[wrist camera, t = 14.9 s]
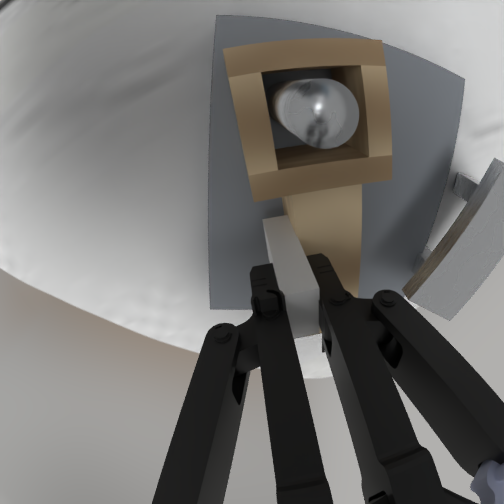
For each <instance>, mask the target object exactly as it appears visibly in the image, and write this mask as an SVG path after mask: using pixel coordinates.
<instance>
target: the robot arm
mask: <svg viewBox="0 0 504 504" xmlns="http://www.w3.org/2000/svg"><path fill="white" fill-rule="evenodd" d="M262 220H263V226H264V232H265V238H266V244H267V250H268V257H269V262H270V263H269V264H264V265H258V266H253V267H252V269H251V271H250V273H249V274H250V282H251V290H252V297H251V306H252V310H253V314H252V316H251V317H250V319H248V320H247V321H246V322H244V323H242V324H240V325H238V326H234V325H233V324H229V323H220V324H217V325H215V326H213V327H212V328H211V329H210V330H209V331H208V333H207V334H206V337H205V340H204V343H203V346H202V349H201V352H200V355H199V358H198V361H197V364H196V367H195V370H194V373H193V376H192V379H191V382H190V385H189V388H188V391H187V394H186V397H185V400H184V403H183V406H182V409H181V412H180V415H179V418H178V422H177V425H176V428H175V431H174V434H173V437H172V440H171V443H170V446H169V450H168V453H167V456H166V459H165V462H164V466H163V469H162V472H161V475H160V479H159V482H158V485H157V488H156V492H155V495H154V498H153V501H152V504H223V501H224V497H225V492H226V488H227V483H228V479H229V474H230V469H231V465H232V460H233V455H234V450H235V446H236V441H237V436H238V431H239V426H240V421H241V417H242V411H243V406H244V401H245V396H246V391H247V386H248V381H249V376H250V371H251V370H253V369H255V368H257V367H259V366H260V367H261V375H262V383H263V390H264V398H265V405H266V412H267V420H268V427H269V435H270V442H271V449H272V457H273V464H274V472H275V479H276V494H277V504H333V500H332V495H331V491H330V487H329V484H328V481H327V479H326V476H325V472H324V468H323V463H322V459H321V454H320V450H319V445H318V440H317V436H316V432H315V427H314V423H313V418H312V414H311V409H310V405H309V401H308V397H307V392H306V388H305V384H304V380H303V375H302V371H301V367H300V363H299V359H298V355H297V351H296V347H295V342H294V339H295V338H300V337H304V336H309V335H314V334H318V333H320V329H321V332H322V353H323V352H326V355H327V358H328V361H329V365H330V368H331V371H332V374H333V377H334V380H335V384H336V387H337V390H338V394H339V397H340V400H341V404H342V407H343V411H344V414H345V417H346V421H347V424H348V428H349V431H350V435H351V438H352V442H353V446H354V449H355V453H356V456H357V460H358V463H359V468H360V471H361V476H362V491H363V496H364V500H365V504H478V503H475V502H473V501H471V500H469V499H466V498H464V497H462V496H460V495H458V494H456V493H454V492H452V491H450V490H448V489H446V488H443V487H442V485H441V481H440V478H439V476H438V472H437V470H436V466H435V464H434V461H433V458H432V456H431V454H430V452H429V451H428V450H427V449H426V448H424V447H422V446H421V445H420V444H419V442H418V440H417V438H416V435H415V432H414V430H413V427H412V425H411V422H410V419H409V417H408V414H407V412H406V410H405V407H404V404H403V402H402V400H401V397H400V395H399V392H398V390H397V388H396V385H395V383H394V381H393V379H394V380H395V381H396V382H397V384H398V385H399V386H400V387H401V389H402V390H403V391H404V392H405V394H406V395H407V396H408V398H409V399H410V400H411V402H412V403H413V404H414V405H415V407H416V408H417V409H418V411H419V412H420V413H421V415H422V416H423V417H424V419H425V420H426V421H427V422H428V424H429V425H430V427H431V428H432V429H433V431H434V432H435V433H436V434H437V436H438V437H439V438H440V440H441V441H442V443H443V444H444V445H445V447H446V448H447V449H448V451H449V452H450V454H451V455H452V456H453V458H454V459H455V460H456V461H457V463H458V464H459V465H460V466H461V467H462V468H463V469H464V470H465V471H466V472H467V473H468V474H470V475H471V476H473V477H474V480H473V481H472V483H471V486H470V488H471V490H472V491H473V492H475V493H476V494H477V495H478V496H479V498H480V501H481V504H504V403H503V401H502V400H501V399H500V398H499V397H498V395H497V394H496V393H495V392H494V391H493V390H492V389H491V387H490V386H489V385H488V384H487V383H486V382H485V381H484V379H483V378H482V377H481V376H480V375H479V374H478V373H477V372H476V371H475V370H474V368H473V367H472V366H471V365H470V364H469V363H468V362H467V361H466V360H465V359H464V358H463V356H461V354H460V353H459V352H458V351H457V350H456V349H455V348H454V347H453V346H452V345H451V344H450V343H449V342H448V341H447V340H446V339H445V338H444V337H443V336H442V335H441V334H440V333H439V332H438V331H437V330H436V329H435V328H434V327H433V326H432V325H431V324H430V323H429V322H428V321H427V320H426V319H425V318H424V317H423V316H422V315H421V314H420V313H419V312H418V311H417V310H416V309H415V308H414V307H413V306H412V305H410V304H409V303H408V302H407V301H406V300H405V299H404V298H403V297H402V296H401V295H400V294H398V293H397V292H395V291H393V290H385V289H384V290H380V291H378V292H377V293H375V294H374V296H373V299H365V298H356V297H353V295H352V294H351V293H350V292H348V291H346V290H345V289H344V288H343V286H342V284H341V282H340V280H339V278H338V276H337V274H336V272H335V271H334V268H333V266H332V264H331V262H330V260H329V259H328V257H326V256H325V255H323V254H322V253H319V254H313V255H308V256H306V255H305V253H304V251H303V248H302V246H301V244H300V241H299V239H298V237H297V236H296V234H295V231H294V229H293V227H292V224H291V222H290V220H289V218H288V215H284V216H278V217H272V218H267V219H262ZM392 377H393V379H392Z"/></svg>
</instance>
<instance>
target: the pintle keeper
mask: <svg viewBox="0 0 504 504" xmlns="http://www.w3.org/2000/svg"><path fill="white" fill-rule="evenodd" d="M265 96H266V102H267V107H268V113H269V117H271V118H272V119H273V120H275V121H276V122H278V123H279V124H280V125H282V126H283V127H285V128H286V129H287V130H289V131H290V132H291V133H293V134H294V135H295V136H297V137H298V138H300V139H301V140H302V141H303V142H305V143H307V144H308V145H310V146H312V147H316V148H320V149H330V148H335V147H338V146H340V145H342V144H343V143H345V142H346V141H347V140H349V139H350V138H351V136H352V135H353V134H354V132H355V130H356V128H357V125H358V121H359V108H358V104H357V101H356V99H355V97H354V96H353V94H352V93H351V91H350V90H349V89H348V88H347V87H345V86H344V85H343V84H341V83H339V82H337V81H335V80H331V79H325V78H324V79H306V80H294V81H284V82H278V83H275V84H273V85H271V86H270V87H269V88H268V89H267V90H266V92H265ZM453 193H455V194H456V195H458V196H459V197H461V198H462V199H464V200H465V201H466V202H467V204H466V205H465V207H464V209H463V210H462V212H461V213H460V214H459V216H458V217H457V219H456V220H455V222H454V223H453V225H452V226H451V227H450V229H449V230H448V232H447V233H446V234H445V236H444V237H443V238H442V240H441V241H440V242H439V244H438V245H437V246H436V248H435V249H434V250H433V252H432V251H431V250H430V249H429V248H428V247H427V246H425V248H424V251H423V253H418V255H417V258H416V260H415V263H414V265H413V268H412V270H411V271H412V272H413V274H414V275H413V276H412V278H411V279H410V280H409V281H408V282H407V284H406V285H405V286H404V287H403V288H402V291H403V292H404V294H405V295H406V297H407V298H408V300H409V301H411V302H413V303H415V304H417V305H419V306H421V307H423V308H425V309H427V310H429V311H431V312H433V313H435V314H437V315H439V316H441V317H443V318H445V319H447V320H449V321H450V320H451V319H452V318H453V317H454V316H455V315H456V314H457V313H458V312H459V310H460V309H461V308H462V307H463V306H464V305H465V304H466V303H467V302H468V300H469V299H470V298H471V297H472V295H473V294H474V293H475V292H476V291H477V290H478V288H479V287H480V286H481V285H482V283H483V282H484V281H485V280H486V278H487V277H488V276H489V274H490V273H491V272H492V270H493V269H494V268H495V266H496V265H497V264H498V262H499V261H500V260H501V258H502V256H503V255H504V163H503V162H501V161H500V160H498V159H496V158H494V159H493V161H492V162H491V164H490V166H489V168H488V170H487V171H486V173H485V175H484V177H483V178H482V180H481V182H479V181H478V180H476V179H474V178H473V177H471V176H468V175H465V174H461V173H458V175H457V179H456V183H455V186H454V190H453Z"/></svg>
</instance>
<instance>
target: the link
mask: <svg viewBox="0 0 504 504" xmlns="http://www.w3.org/2000/svg"><path fill="white" fill-rule="evenodd" d="M223 55H224V61H225V66H226V71H227V75H228V80H229V85H230V90H231V95H232V99H233V104H234V109H235V114H236V119H237V124H238V128H239V133H240V138H241V143H242V148H243V153H244V158H245V163H246V168H247V173H248V178H249V182H250V187H251V191H252V196H253V200H254V202H258V201H263V200H269V199H274V198H279V197H282V203H283V210H284V215H288V218H289V220H290V222H291V224H292V227H293V229H294V231H295V234H296V236H297V237H298V239H299V241H300V244H301V246H302V248H303V251H304V253H305V255H306V256H308V255H313V254H319V253H322V254H323V255H325V256H326V257H328V259H329V260H330V262H331V264H332V266H333V268H334V271H335V272H336V274H337V276H338V278H339V280H340V282H341V284H342V286H343V288H344V289H345V290H346V291H348V292H350V293H351V294H352V295H353V297H356V298H358V290H359V277H360V261H361V236H362V184H365V183H372V182H379V181H387V180H392V131H391V113H390V100H389V89H388V80H387V71H386V64H385V57H384V50H383V44H382V40H372V39H354V38H313V39H294V40H282V41H272V42H263V43H256V44H249V45H242V46H236V47H231V48H225V49H223ZM313 69H331V75H332V80H335V81H337V82H339V83H341V84H343V85H344V86H345V87H347V88H348V89H349V90H350V91H351V93H352V94H353V96H354V97H355V99H356V101H357V104H358V108H359V121H358V125H357V128H356V130H355V132H354V134H353V135H352V136H351V138H350V139H349V140H347V141H346V142H345V143H343V144H342V145H340V146H338V147H335V148H330V149H320V148H316V147H312V146H310V145H308V144H305V145H298V146H292V147H285V148H279V149H275V148H274V142H273V136H272V130H271V124H270V118H269V113H268V107H267V102H266V96H265V91H264V86H263V80H262V75H265V74H272V73H280V72H289V71H300V70H313ZM320 333H322V332H321V329H320ZM320 333H318V334H320ZM314 335H315V334H314ZM309 336H311V335H309Z"/></svg>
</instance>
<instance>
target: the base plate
mask: <svg viewBox="0 0 504 504" xmlns="http://www.w3.org/2000/svg"><path fill="white" fill-rule="evenodd" d="M313 38H354V39H369V38H366V37H363V36H359V35H356V34H352V33H348V32H344V31H340V30H336V29H332V28H327V27H323V26H318V25H313V24H307V23H302V22H295V21H289V20H281V19H273V18H263V17H251V16H233V15H216V27H215V39H214V52H213V67H212V85H211V105H210V131H209V173H208V247H209V291H210V309H235V310H241V309H252V306H251V297H252V290H251V282H250V274H249V273H250V271H251V269H252V267H253V266H258V265H264V264H269V263H270V262H269V257H268V250H267V244H266V238H265V232H264V226H263V220H262V219H267V218H272V217H278V216H284V210H283V203H282V197H279V198H274V199H269V200H263V201H258V202H254V200H253V196H252V191H251V187H250V182H249V178H248V173H247V168H246V163H245V158H244V153H243V148H242V143H241V138H240V133H239V128H238V124H237V119H236V114H235V109H234V104H233V99H232V95H231V90H230V85H229V80H228V75H227V71H226V66H225V61H224V55H223V49H225V48H231V47H236V46H242V45H249V44H256V43H263V42H272V41H282V40H294V39H313ZM382 44H383V50H384V57H385V64H386V71H387V80H388V89H389V100H390V113H391V131H392V180H387V181H379V182H372V183H365V184H362V236H361V261H360V277H359V290H358V298H365V299H373V296H374V294H375V293H377V292H378V291H380V290H384V289H385V290H393V291H395V292H397V293H398V294H400V295H401V296H402V297H403V298H404V296H405V294H404V292H403V291H402V288H403V287H404V286H405V285H406V284H407V282H408V281H409V280H410V279H411V278H412V276H413V275H414V274H413V272H412V271H411V270H412V268H413V265H414V263H415V260H416V258H417V255H418V253H423V251H424V248H425V246H426V243H427V240H428V238H429V235H430V232H431V229H432V227H433V224H434V221H435V218H436V215H437V212H438V208H439V205H440V202H441V199H442V195H443V192H444V188H445V185H446V181H447V177H448V174H449V170H450V166H451V161H452V157H453V153H454V148H455V143H456V138H457V133H458V128H459V122H460V116H461V109H462V102H463V94H464V84H465V79H464V78H462V77H460V76H458V75H456V74H454V73H452V72H451V71H449V70H447V69H445V68H443V67H440V66H438V65H436V64H434V63H432V62H430V61H428V60H425V59H423V58H421V57H418V56H416V55H414V54H411V53H409V52H406V51H404V50H401V49H398V48H396V47H393V46H390V45H387V44H385V43H382ZM324 78H325V79H331V80H332V75H331V69H313V70H300V71H289V72H280V73H272V74H265V75H262V80H263V86H264V91H265V92H266V90H267V89H268V88H269V87H270V86H271V85H273V84H275V83H278V82H284V81H294V80H306V79H324ZM269 118H270V124H271V130H272V136H273V142H274V148H275V149H279V148H285V147H292V146H298V145H305V144H307V143H305V142H303V141H302V140H301V139H300V138H298V137H297V136H295V135H294V134H293V133H291V132H290V131H289V130H287V129H286V128H285V127H283V126H282V125H280V124H279V123H278V122H276V121H275V120H273V119H272V118H271V117H269Z"/></svg>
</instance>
